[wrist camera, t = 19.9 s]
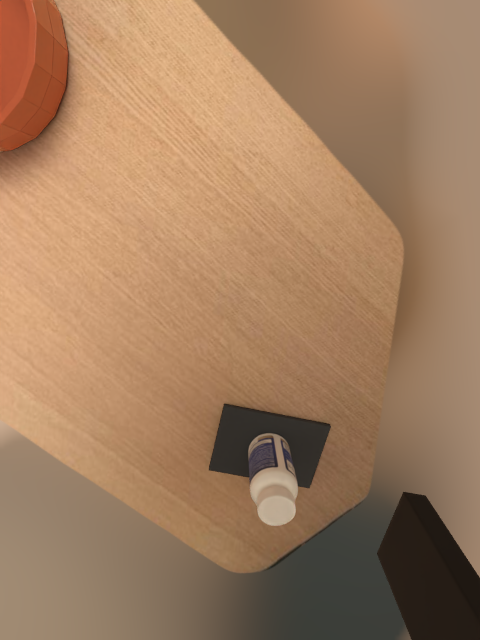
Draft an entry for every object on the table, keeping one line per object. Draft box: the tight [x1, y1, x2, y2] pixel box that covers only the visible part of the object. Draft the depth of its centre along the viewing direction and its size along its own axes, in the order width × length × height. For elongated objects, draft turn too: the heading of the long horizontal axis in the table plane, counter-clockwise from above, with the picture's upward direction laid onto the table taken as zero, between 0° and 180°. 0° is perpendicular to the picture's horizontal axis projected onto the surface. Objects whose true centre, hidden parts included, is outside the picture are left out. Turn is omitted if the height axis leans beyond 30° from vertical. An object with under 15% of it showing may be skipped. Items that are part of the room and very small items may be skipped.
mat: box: [209, 404, 331, 488], centre depth 44 cm, size 14×10×1 cm
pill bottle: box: [248, 433, 298, 526], centre depth 39 cm, size 5×5×10 cm
